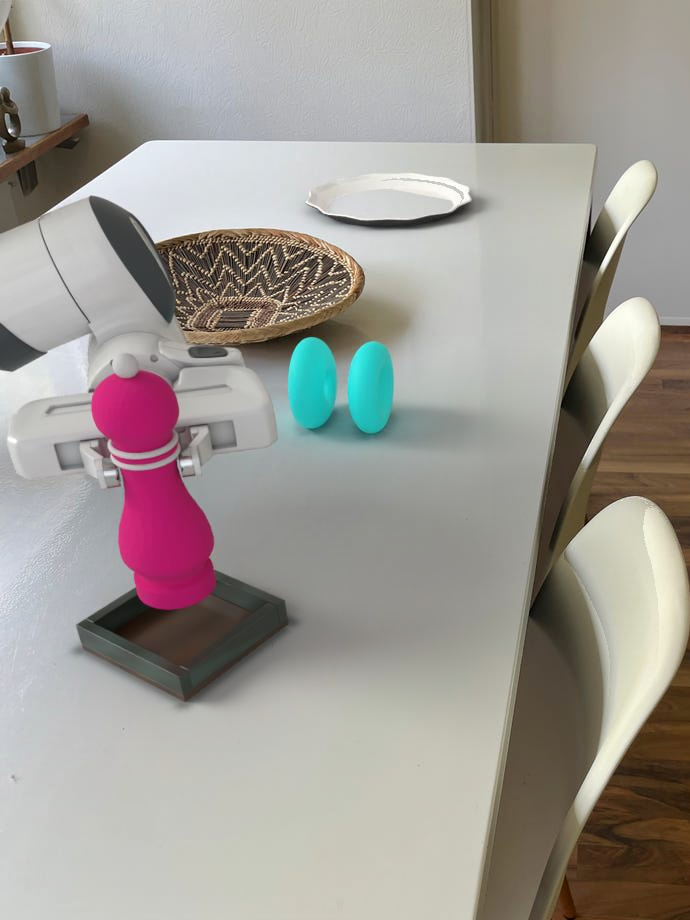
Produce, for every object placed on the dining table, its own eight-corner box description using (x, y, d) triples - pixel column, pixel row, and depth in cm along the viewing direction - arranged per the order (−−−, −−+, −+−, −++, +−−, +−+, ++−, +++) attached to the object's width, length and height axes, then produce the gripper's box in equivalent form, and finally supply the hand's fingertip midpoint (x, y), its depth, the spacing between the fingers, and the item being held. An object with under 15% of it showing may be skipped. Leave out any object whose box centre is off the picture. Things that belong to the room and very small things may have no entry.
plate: (499, 198, 189) (499, 184, 188) (419, 243, 169) (418, 228, 167) (365, 178, 200) (365, 165, 198) (275, 218, 180) (273, 204, 178)
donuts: (316, 404, 122) (307, 322, 116) (398, 410, 120) (393, 328, 114) (290, 443, 114) (279, 358, 108) (377, 450, 113) (371, 364, 107)
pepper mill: (163, 555, 87) (109, 327, 74) (238, 571, 85) (196, 340, 72) (113, 604, 82) (45, 367, 69) (192, 622, 80) (137, 382, 67)
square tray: (84, 653, 85) (75, 624, 83) (190, 583, 93) (184, 556, 91) (186, 706, 80) (178, 677, 78) (289, 628, 88) (285, 599, 86)
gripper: (1, 375, 82) (-12, 456, 71) (258, 345, 86) (281, 416, 76) (23, 446, 86) (14, 532, 75) (268, 413, 90) (291, 490, 80)
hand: (150, 474), depth 76 cm, fingers closed on pepper mill, 4 cm apart
